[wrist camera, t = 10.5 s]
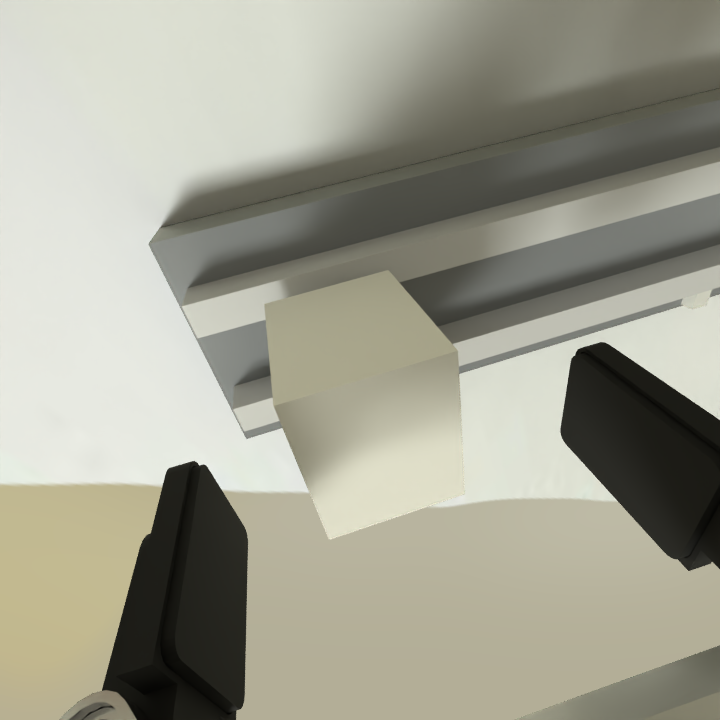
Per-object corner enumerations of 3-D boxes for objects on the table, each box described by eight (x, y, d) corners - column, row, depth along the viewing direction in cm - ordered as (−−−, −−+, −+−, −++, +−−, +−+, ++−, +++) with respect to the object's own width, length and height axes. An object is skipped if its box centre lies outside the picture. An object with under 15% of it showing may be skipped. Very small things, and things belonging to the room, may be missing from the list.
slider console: (800, 68, 17) (915, 60, 14) (723, 273, 22) (794, 299, 19) (159, 227, 14) (137, 258, 11) (249, 416, 19) (249, 469, 17)
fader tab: (372, 250, 14) (458, 351, 8) (390, 362, 17) (464, 493, 11) (262, 280, 14) (273, 406, 8) (300, 389, 17) (329, 540, 11)
